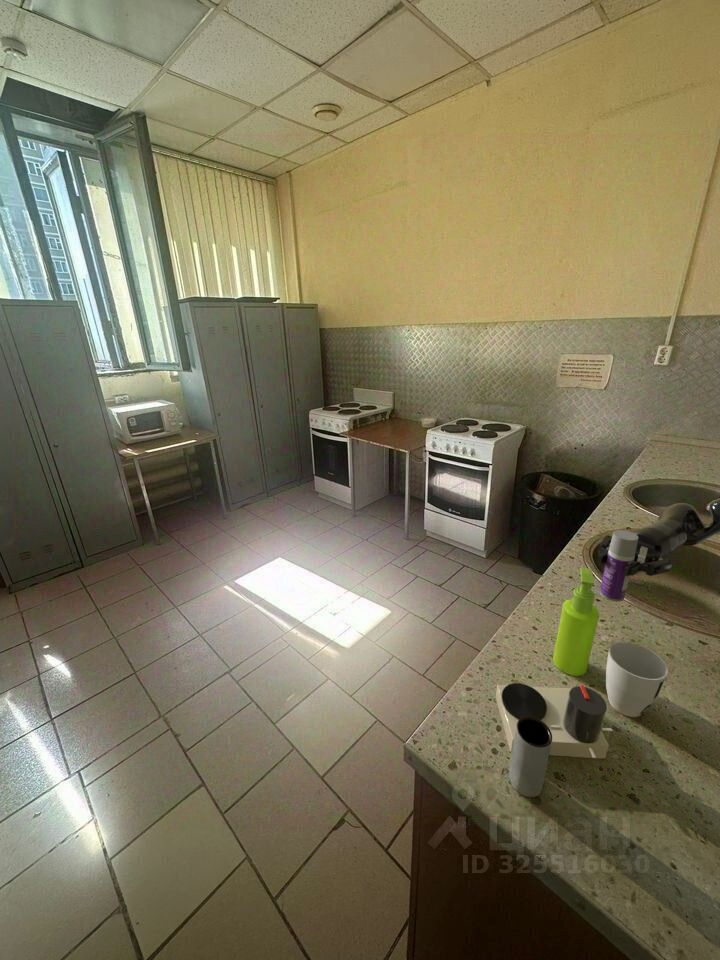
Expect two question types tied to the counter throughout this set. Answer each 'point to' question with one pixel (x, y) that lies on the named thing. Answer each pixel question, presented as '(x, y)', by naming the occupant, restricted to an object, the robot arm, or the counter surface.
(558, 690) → the hob
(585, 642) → the soap dispenser
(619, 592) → the container
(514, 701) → the hotplate
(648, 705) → the cup
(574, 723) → the knob
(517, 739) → the planter
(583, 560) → the counter surface
